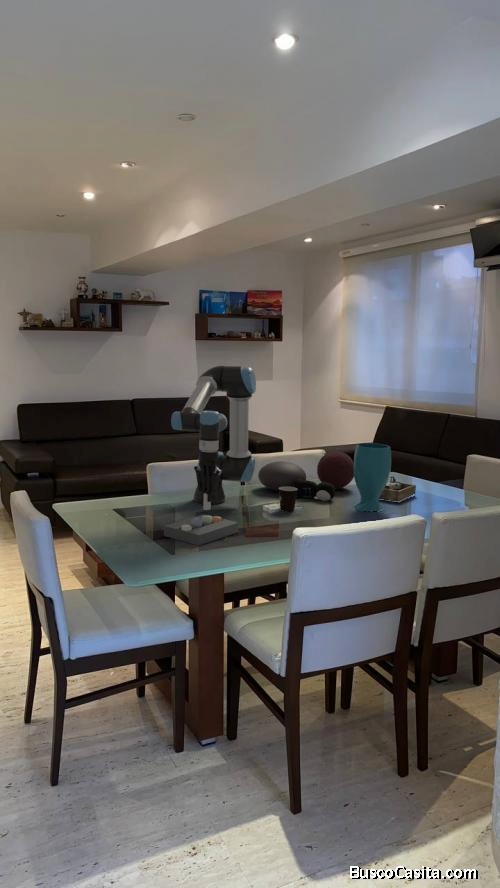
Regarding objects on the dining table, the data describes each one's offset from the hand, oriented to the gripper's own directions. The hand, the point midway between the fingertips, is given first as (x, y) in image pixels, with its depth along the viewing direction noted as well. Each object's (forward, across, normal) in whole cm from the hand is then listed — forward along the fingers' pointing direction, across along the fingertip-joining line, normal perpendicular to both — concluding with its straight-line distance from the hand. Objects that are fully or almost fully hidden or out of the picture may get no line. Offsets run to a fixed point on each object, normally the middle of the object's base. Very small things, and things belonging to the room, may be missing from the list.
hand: (206, 509), depth 266 cm
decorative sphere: (+9, -3, +110) cm, 110 cm away
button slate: (+7, 0, -6) cm, 9 cm away
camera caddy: (+9, +29, +114) cm, 118 cm away
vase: (+9, +30, +84) cm, 89 cm away
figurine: (+10, +1, +82) cm, 82 cm away
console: (+10, 0, -3) cm, 10 cm away
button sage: (+7, 0, 0) cm, 7 cm away
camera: (+9, +27, +116) cm, 119 cm away
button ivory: (+8, 0, -12) cm, 14 cm away
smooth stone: (+9, -21, +86) cm, 89 cm away
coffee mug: (+10, +3, +55) cm, 56 cm away
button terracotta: (+8, 0, +6) cm, 10 cm away
